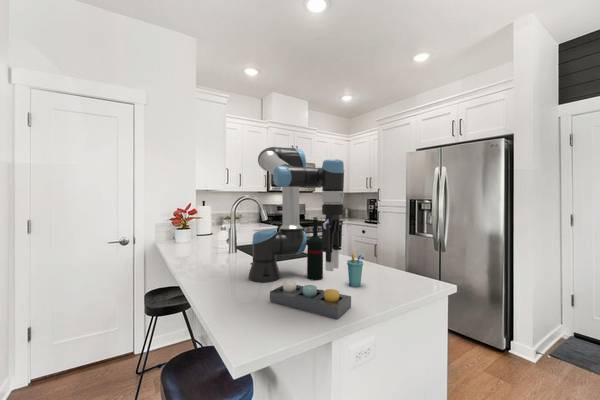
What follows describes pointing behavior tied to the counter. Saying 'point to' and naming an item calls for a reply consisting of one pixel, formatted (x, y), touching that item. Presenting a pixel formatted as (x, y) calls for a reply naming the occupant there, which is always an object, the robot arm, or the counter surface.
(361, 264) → the cup
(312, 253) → the wine bottle
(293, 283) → the button ivory
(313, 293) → the button teal
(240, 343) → the counter surface
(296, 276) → the counter surface
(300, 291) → the console
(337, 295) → the button amber
